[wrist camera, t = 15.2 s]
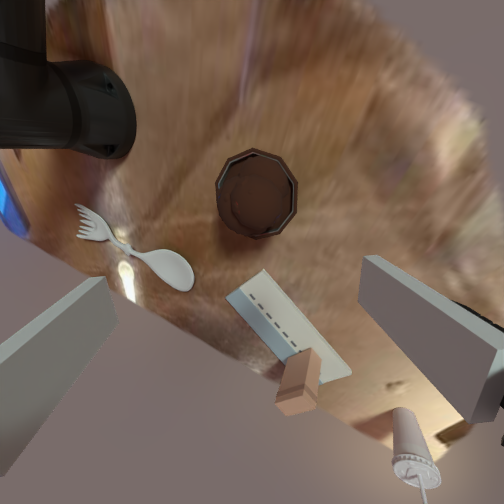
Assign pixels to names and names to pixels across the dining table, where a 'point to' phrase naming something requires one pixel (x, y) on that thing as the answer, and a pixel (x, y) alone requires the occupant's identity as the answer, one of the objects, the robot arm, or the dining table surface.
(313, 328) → the board
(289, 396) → the small tan carton
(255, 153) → the ice cream bowl
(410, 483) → the smoothie
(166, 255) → the spoon
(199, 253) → the dining table surface
